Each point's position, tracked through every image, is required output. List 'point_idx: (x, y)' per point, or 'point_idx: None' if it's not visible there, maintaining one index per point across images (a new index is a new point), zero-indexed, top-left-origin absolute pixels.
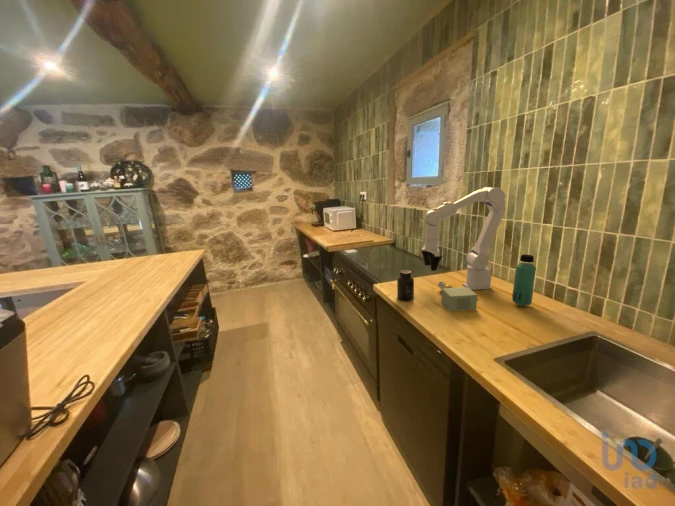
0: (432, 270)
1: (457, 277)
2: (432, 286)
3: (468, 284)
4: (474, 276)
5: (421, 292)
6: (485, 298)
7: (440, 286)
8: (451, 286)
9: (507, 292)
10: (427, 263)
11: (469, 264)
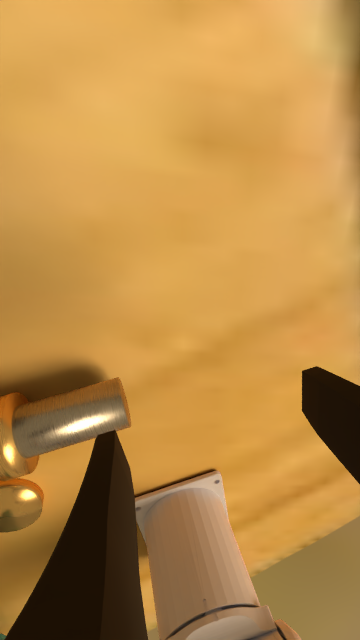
0: (97, 443)
1: (308, 450)
2: (182, 330)
3: (168, 507)
4: (157, 587)
5: (48, 243)
6: (28, 545)
7: (73, 397)
8: (5, 479)
9: None
10: (317, 405)
11: (240, 638)
